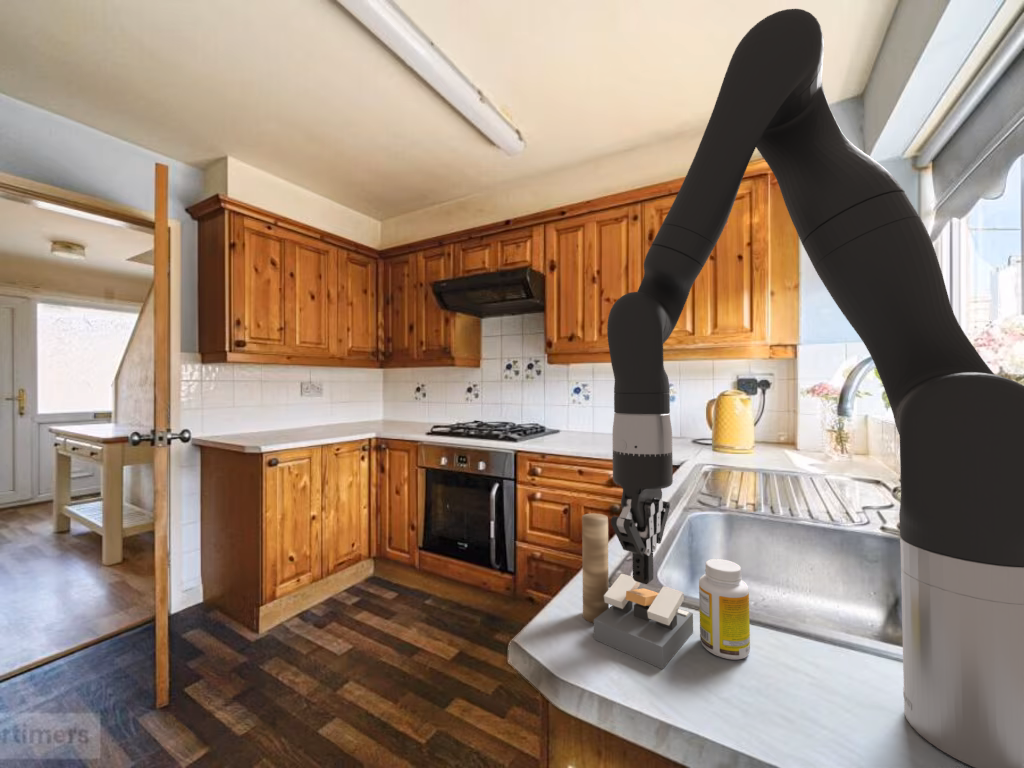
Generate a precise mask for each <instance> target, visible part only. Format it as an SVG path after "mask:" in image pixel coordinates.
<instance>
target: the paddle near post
mask: <svg viewBox="0 0 1024 768" xmlns="http://www.w3.org/2000/svg"><path fill="white" fill-rule="evenodd" d="M640 585H641V583H640V582H637V581H635V580H634V579H633V575H632V576H631V575H629V574H628V575H627V574H624V573H620V575H619V576H618V577H617V579H615V580H614V582H613V583H612V585H611V586H610V587H609V590H608V591H607V592H606V594H605V595H604V601H605V603H608V604H609V606H610V605H611V606H612V605H613V606H616V607H619V608H621V609H623V608H624V607H625V605H626V604H627V602H628V601H629V600H626V591H630V590H636V589H639V587H640Z"/></svg>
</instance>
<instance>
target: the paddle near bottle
mask: <svg viewBox="0 0 1024 768" xmlns="http://www.w3.org/2000/svg"><path fill="white" fill-rule="evenodd" d="M658 593H659V594H658V595H657V597H656V598H655V600H654V601H653V603H652V604H651V606H650V607H649V609H648V610H647V614H648V618H649V619H652V620H655V621H657V622H660V623H663V624H666V625H668V626H669V625H670V623H671V621H672V620H673V618H674V616H677V615H678V609H680V608H681V605H682V604H683V602H684V600H685V596H684V595H685V594H684V591H681V590H677V589H674V588H672V587H668V586H665V585H663V586H662V587H661V589H660V590H659V592H658Z"/></svg>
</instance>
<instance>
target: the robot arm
mask: <svg viewBox="0 0 1024 768" xmlns="http://www.w3.org/2000/svg"><path fill="white" fill-rule="evenodd" d="M824 41H825V39H824V35H823V30H822V26H821V25H820V23H819V20H818V19H817V18H816V17H815V16H814V14H812V13H811V12H809V11H807V10H805V9H801V8H788V9H782V10H779V11H776V12H774V13H772V14H769V15H767V16H765V17H764V18H763V19H761V20H760V21H758V22H757V23H756V24H755V25H753V27H751V28H750V29H749V30H748V31H747V32H746V34H745V35H744V36H743V37H742V38H741V40H740V41H739V42H738V44H737V46H736V48H735V49H734V52H733V54H732V55H731V59H730V61H729V63H728V66H727V70H726V72H725V74H724V77H723V80H722V83H721V86H720V88H719V92H718V95H717V97H716V101H715V103H714V107H713V109H712V111H711V114H710V118H709V120H708V123H707V126H706V128H705V130H704V131H703V132H704V133H703V136H702V137H701V140H700V143H699V145H698V148H697V150H696V152H695V155H694V158H693V159H692V162H691V164H690V166H689V169H688V171H687V173H686V175H685V177H684V179H683V182H682V184H681V186H680V188H679V190H678V192H677V195H676V196H675V198H674V200H673V203H672V205H671V207H670V209H669V210H668V212H667V214H666V216H665V218H664V220H663V222H662V224H661V225H660V227H659V230H658V231H657V233H656V236H655V238H654V239H653V241H652V243H651V246H650V247H649V249H648V251H647V253H646V256H645V259H644V261H643V269H644V273H643V277H642V280H641V283H640V285H639V286H638V289H637V291H633V292H628V293H625V294H624V295H622V296H620V297H619V298H618V299H617V300H616V301H615V303H614V304H613V305H612V306H611V309H610V311H609V313H608V318H607V325H606V326H607V327H606V329H607V331H606V332H607V333H606V334H607V343H608V350H609V351H608V352H609V355H610V362H611V368H612V372H613V378H614V387H613V396H614V397H613V409H614V413H613V415H614V417H613V422H612V423H613V424H612V480H613V482H614V483H615V484H616V485H619V486H620V487H621V488H622V494H621V495H622V496H621V501H620V506H621V509H622V510H621V512H620V514H619V516H616V515H613V516H612V517H611V519H610V524H611V526H612V529H613V530H614V533H615V535H616V536H617V539H618V542H619V543H620V546H621V547H622V550H623V551H626V552H631V554H632V577H633V579H634V580H635V581H637V582H640V584H644V585H648V584H649V583H650V582H652V581H653V580H654V553H655V552H656V550H657V544H659V545H660V544H662V541H663V536H664V532H665V528H666V524H667V521H668V516H669V514H670V513H669V512H670V508H671V504H670V502H669V501H666V500H665V501H664V500H663V499H662V498H663V491H662V489H666V488H669V487H670V486H672V484H673V481H674V480H673V479H674V476H673V473H674V472H673V471H674V469H673V428H672V422H671V412H670V411H671V409H670V407H671V404H670V403H671V402H670V400H671V399H670V397H671V396H670V393H671V391H670V381H669V377H668V373H667V372H666V370H665V364H664V344H665V343H666V342H667V341H668V339H669V338H670V336H671V335H672V333H673V331H674V329H675V328H676V326H677V324H678V322H679V319H680V317H681V314H682V312H683V310H684V308H685V306H686V302H687V299H688V298H689V295H690V291H691V289H692V287H693V285H694V283H695V282H696V279H697V278H698V277H699V275H700V273H701V272H702V271H703V268H704V267H705V266H706V265H705V264H706V263H707V261H708V259H709V257H710V255H711V254H712V253H713V251H714V248H715V247H716V244H717V243H718V241H719V239H720V237H721V235H722V234H723V230H724V228H725V227H726V224H727V222H728V219H729V217H730V215H731V212H732V209H733V206H734V204H735V201H736V198H737V195H738V192H739V189H740V187H741V183H742V181H743V178H744V175H745V173H746V170H747V168H748V166H749V163H750V161H751V159H752V157H753V154H754V152H755V151H756V149H757V150H758V153H759V154H760V155H761V157H762V158H763V160H764V161H765V163H766V164H767V165H768V167H769V169H770V170H771V172H772V173H773V175H774V178H775V179H776V181H777V184H778V186H779V189H780V193H781V195H782V199H783V202H784V204H785V207H786V209H787V212H788V214H789V217H790V220H791V221H792V224H793V225H794V226H793V227H794V228H795V230H796V234H797V235H798V238H799V240H800V242H801V245H802V246H803V248H804V250H805V253H806V255H807V257H808V258H809V260H810V263H811V264H812V267H813V268H814V270H815V272H816V274H817V275H818V277H819V279H820V280H821V282H822V283H823V285H824V287H825V288H826V290H827V292H828V293H829V295H830V297H831V298H832V299H833V301H834V303H835V304H836V306H837V307H838V309H839V310H840V311H841V313H842V315H843V316H844V317H845V319H846V321H848V323H849V324H850V326H851V327H852V328H853V330H854V331H855V332H856V334H857V336H859V338H860V339H861V341H862V343H863V344H864V346H865V348H866V350H867V351H868V353H869V355H870V357H871V359H872V362H873V364H874V366H875V368H876V371H877V373H878V376H879V378H880V380H881V384H882V386H883V389H884V391H885V395H886V397H887V400H888V402H889V403H888V404H889V405H890V409H891V412H892V415H893V419H894V424H895V427H896V430H897V432H898V435H899V457H900V458H899V463H900V465H899V466H900V467H899V468H900V469H899V470H900V503H899V504H900V505H899V506H900V507H899V511H898V512H899V515H898V516H899V517H898V518H899V538H900V539H899V541H900V543H899V544H900V574H901V575H900V577H901V578H900V579H901V583H900V584H901V585H900V586H901V589H900V590H901V624H902V626H901V630H902V631H901V632H902V666H903V667H902V670H903V687H902V688H903V689H902V690H903V691H902V693H903V704H904V705H903V708H904V710H903V711H904V716H905V718H906V720H907V722H908V723H909V725H910V726H911V728H912V729H914V731H916V732H917V734H919V736H921V737H923V738H924V739H925V740H926V741H927V742H928V743H930V744H931V745H933V746H934V747H936V748H937V749H939V750H940V751H941V752H944V753H945V754H947V755H949V756H951V757H952V758H954V759H956V760H958V761H959V762H961V763H965V764H966V765H968V766H971V767H973V768H1024V385H1023V384H1022V383H1020V382H1017V381H1016V380H1013V379H1011V378H1008V377H1005V376H1001V375H997V374H995V373H994V372H993V371H992V369H991V368H990V367H989V365H988V364H987V363H986V362H985V361H984V359H983V358H982V356H981V355H980V354H979V352H978V350H976V347H974V345H973V343H972V342H971V341H970V340H969V338H968V337H967V335H966V334H965V332H964V330H963V328H962V327H961V325H960V323H959V321H958V319H957V317H956V315H955V313H954V310H953V308H952V304H951V301H950V298H949V294H948V291H947V286H946V283H945V279H944V276H943V272H942V269H941V266H940V261H939V259H938V256H937V253H936V249H935V247H934V245H933V242H932V240H931V239H932V238H931V237H930V235H929V234H930V233H929V232H928V230H927V228H926V226H925V223H924V222H923V220H922V219H921V216H920V215H919V213H918V212H917V210H916V208H915V206H914V205H913V203H912V202H911V200H910V198H909V197H908V195H907V193H906V192H905V190H904V189H903V187H902V186H901V185H900V183H899V182H898V180H897V179H896V178H895V177H894V176H893V174H892V173H890V171H889V170H887V169H886V168H885V167H884V166H883V165H882V164H881V163H879V162H878V161H876V160H875V159H874V158H872V157H871V156H869V155H868V154H867V153H865V152H863V150H861V149H860V148H858V147H857V146H856V145H854V144H853V142H851V141H850V140H849V139H848V138H847V137H846V135H845V134H844V133H843V131H842V130H841V128H840V126H839V124H838V121H837V119H836V118H835V116H834V113H833V111H832V109H831V107H830V104H829V101H828V99H827V97H826V94H825V90H824V86H823V66H824V65H823V63H824V55H825V54H824V48H825V47H824V45H825V43H824Z"/></svg>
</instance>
